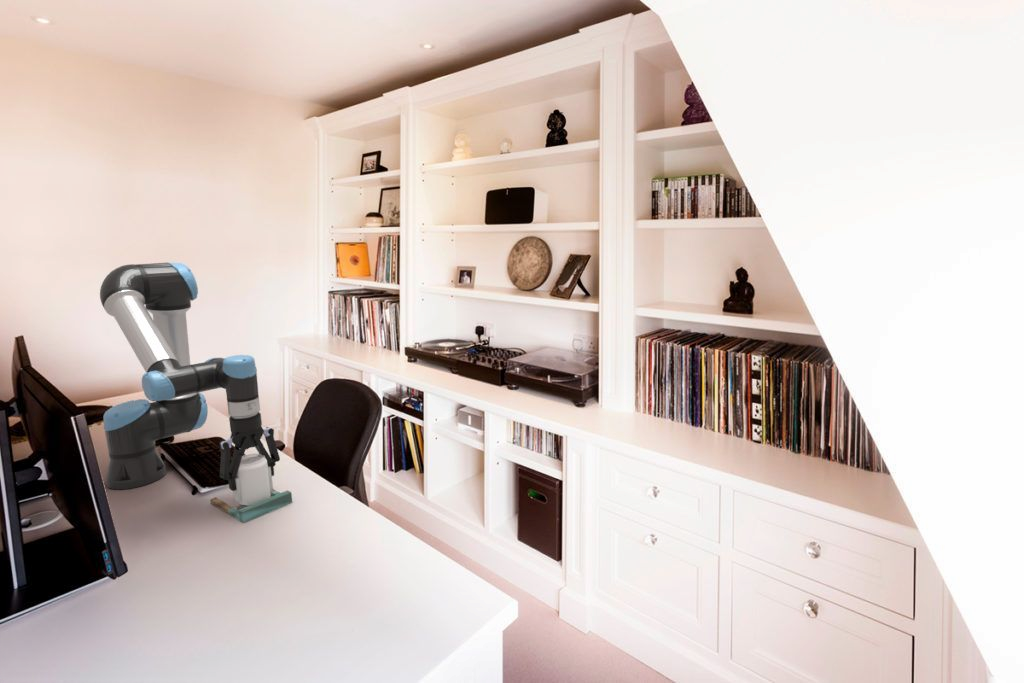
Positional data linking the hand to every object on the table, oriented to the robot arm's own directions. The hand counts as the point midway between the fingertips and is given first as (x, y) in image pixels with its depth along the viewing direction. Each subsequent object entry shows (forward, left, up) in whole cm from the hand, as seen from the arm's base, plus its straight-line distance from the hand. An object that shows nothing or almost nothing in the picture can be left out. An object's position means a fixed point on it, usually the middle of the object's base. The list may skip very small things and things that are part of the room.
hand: (253, 494), depth 148 cm
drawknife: (-2, 0, -3) cm, 4 cm away
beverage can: (0, 0, -2) cm, 2 cm away
